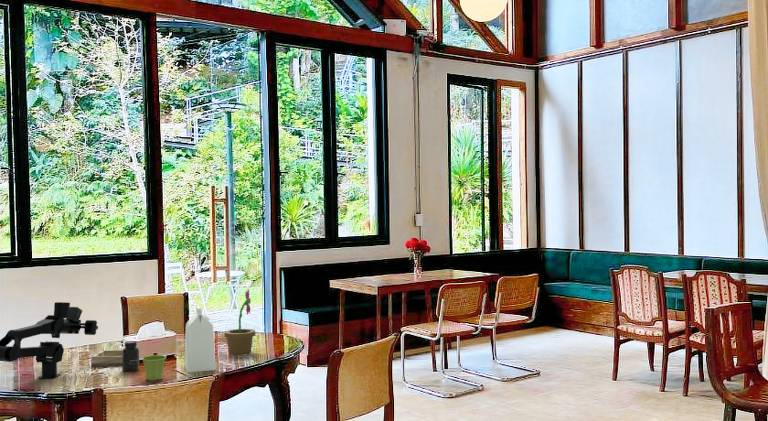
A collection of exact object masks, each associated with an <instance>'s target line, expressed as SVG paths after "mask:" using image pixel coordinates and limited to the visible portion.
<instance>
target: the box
mask: <svg viewBox="0 0 768 421" xmlns="http://www.w3.org/2000/svg"><path fill="white" fill-rule="evenodd" d="M122 350H123V349H111V350H110V349H107V350H106V349H105V350H102V351H99V352H98V353H96V354H94V355H92V356H91V358H90V359H91V367H103V366H106V367H109V366H113V367H114V366H122Z"/></svg>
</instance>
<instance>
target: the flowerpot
mask: <svg viewBox="0 0 768 421" xmlns="http://www.w3.org/2000/svg"><path fill="white" fill-rule="evenodd" d="M245 299H246V300H245V301H244V302H243V304H242V306H241V308H240V310H239V316H238V328H235V329H228V330H225V331H224V337H225V338H226V339H227V347H228V354H229V355H231V356H246V355H245V354H247V355H250V354H251V353H252V348H253V339H254V338H253V337H255V336H256V330H255V329H254V328H253V329H252V328H242V323H241V322H242V317H243V310H244V308H245V306H246V309H245V310H246V315H247V316H248V315H249V314H251V306H250V304H251V303H252V302H251V301H252V300H251V297H250V289H247V290H245ZM249 353H250V354H249Z"/></svg>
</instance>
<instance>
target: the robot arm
mask: <svg viewBox="0 0 768 421" xmlns="http://www.w3.org/2000/svg"><path fill="white" fill-rule="evenodd" d="M53 307H54V308H53V314H48V315H47V316H45V317H44V318H43V319H41V320H39V321H37V322H36V323H35V324H32V325H29V326H25V327H20V328H16V329H10V330H8V331H7V332H6V335H5V336H4V337H2V338H1V339H0V362H2V363H3V362H4V363H5V362H9V363H11V362H14V361H17V360H18V359H19V358H20V359H21V358H22V359H23V358H30V357H32V358H33V357H35V361H36V363H41V375H40V376H38V377H37V378H38V379H55V378H57V377H58V376H61V373H58V363H60V362H62V360H63V355H64V353H65V349H64V346H63V344H61V343H60V341H45V342H44V341H40V343H39V346H26V347H25V346H24V347H22V346H21V344H22V343H21V342H22V340H24V339H26V338H31V337H32V338H33V337H34V336H39V335H51V336H50V337H51V338H52V339H60V338H61V334H63V335H64V334H66V335H70V334H71V335H73V334H74V335H77V334H78V335H79V334H80V331H81V330H82V329H83V333H84V335H87V336H88V335H89V336H95V335H96V334H97V330H98V329H99V326H98V321H97V320H93V319H92V320H90V319H87V320H85V322H82V319H80V318H81V315H82V313H83V310H82V309H81V308H80V307H78V306H71V302H57V301H55V302H54V305H53ZM12 341H14V343H13V344H12V345H11V346H10V345H9V344H10V343H11V342H12ZM8 345H9V346H8Z"/></svg>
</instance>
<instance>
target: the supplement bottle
mask: <svg viewBox="0 0 768 421" xmlns="http://www.w3.org/2000/svg"><path fill="white" fill-rule="evenodd" d="M137 343H138V342H137V341H136V340H128V341H125V342H124V348H123V349H121V350H122V365H121V366H122V367H121V368H122V372H135V371H136V372H137V371H139V370H140V349H139V348H138V347H137V346H138V345H137Z"/></svg>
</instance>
